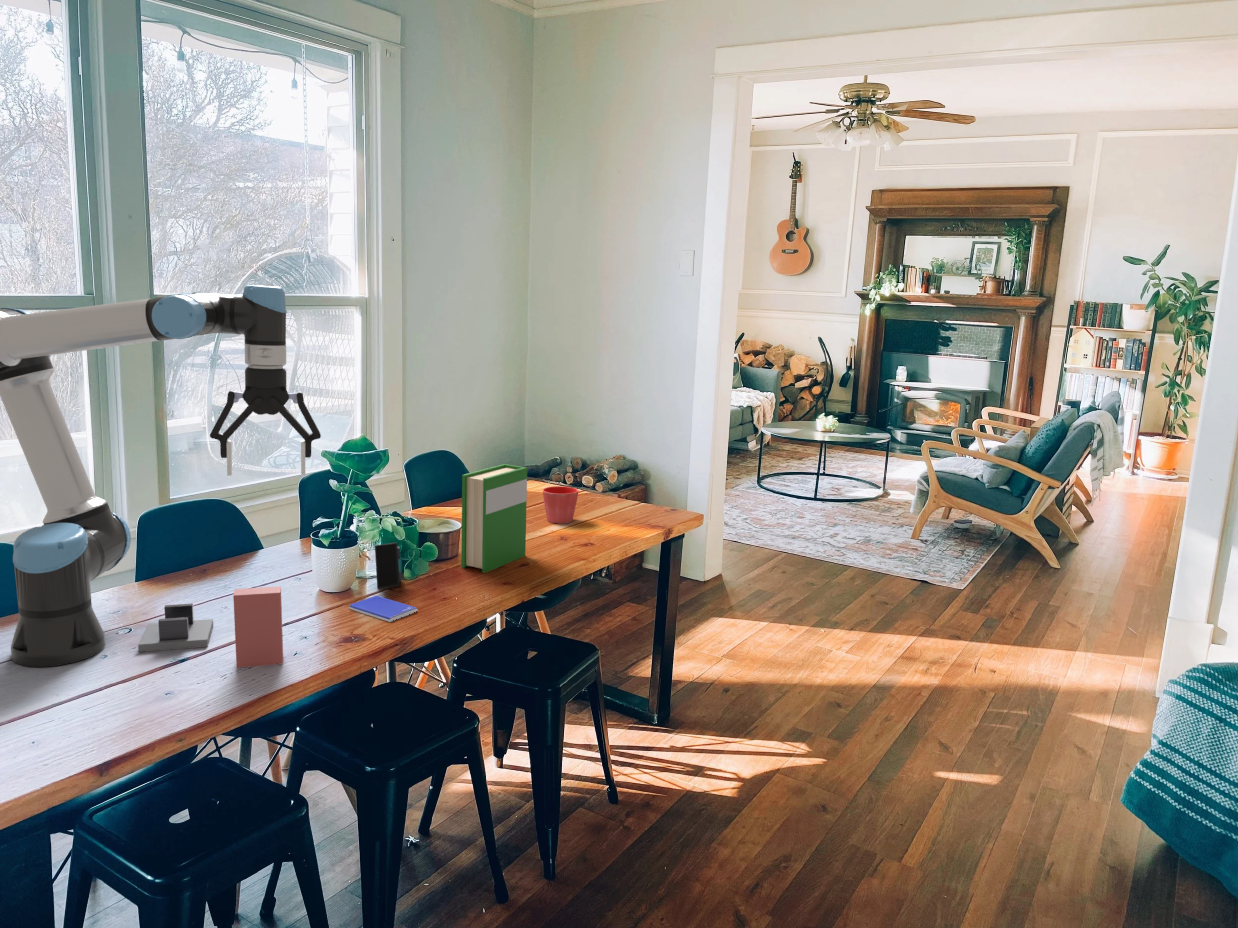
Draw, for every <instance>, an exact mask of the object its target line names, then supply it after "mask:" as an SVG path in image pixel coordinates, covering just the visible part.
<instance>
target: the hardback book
mask: <svg viewBox="0 0 1238 928" xmlns="http://www.w3.org/2000/svg"><path fill="white" fill-rule="evenodd" d="M461 483H462V484H461V560H460V561H461V569H465V568H466V569H467V568H468V567H472V568H473V567H474V568H477V569H481V573H484V574H486V573H488V572H491V571H493V570H495V569H497V568H498V569H499V568H500V567H504V566H506V565H508V564H510V563H511V562H514V561H517V560H519V559H522V558H525V557H526V547H527V546H526V543H527V542H526V541H527V540H526V538H527V537H526V535H527V534H526V533H527V503H528V502H527V501H528V500H527V498H528V493H527V492H528V467H526V466H521V465H513V464H506V463H502V464H499V465H498V464H497V465H495V466H492V467H487V468H482V469H480V470H476V471H471V472H469V473H468V472H467V473H465V474H461Z"/></svg>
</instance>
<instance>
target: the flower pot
mask: <svg viewBox="0 0 1238 928" xmlns="http://www.w3.org/2000/svg"><path fill="white" fill-rule="evenodd" d="M542 497H543V505H544V510H545V515H546V520H547V522H548V523H552V524H569V523H572V522H573V520H574V516H575V512H576V511H575V510H576V506H577V502H578V497H579V489H578V488H576V487H570V486H560V485H558V486H556V485H555V486H554V485H553V486H548V487H545V488H542Z"/></svg>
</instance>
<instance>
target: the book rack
mask: <svg viewBox="0 0 1238 928" xmlns="http://www.w3.org/2000/svg"><path fill="white" fill-rule="evenodd" d="M213 628H214V619H212V618H211V619H210V618H208V619H195V620H194V605H193V603H180V604H166V605H164V618H159V619H158V621H157V622H154V623H153V622H152V623H147V625H146V627H145V629H144V631H143V634H142V635H141V638H140V640H139V642H138V645H137V647H138V652H139V653H144V652H143V651H146V652H155V651H156V652H157V651H169V650H170V649H172V650H182V649H183V650H184V649H194V648H196V649H197V647H198V648H208V646H209V643H210V639H211V636H212V633H213ZM170 651H171V650H170Z"/></svg>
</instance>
